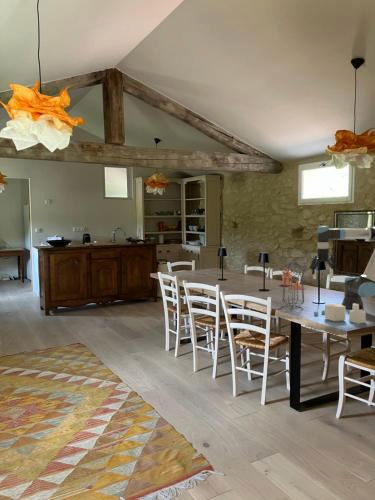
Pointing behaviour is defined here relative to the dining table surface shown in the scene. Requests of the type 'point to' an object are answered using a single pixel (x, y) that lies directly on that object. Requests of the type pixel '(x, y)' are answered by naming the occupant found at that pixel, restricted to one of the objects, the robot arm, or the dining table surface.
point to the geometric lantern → (293, 280)
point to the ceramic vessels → (290, 281)
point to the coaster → (336, 321)
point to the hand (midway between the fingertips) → (322, 278)
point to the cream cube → (335, 312)
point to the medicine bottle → (357, 314)
